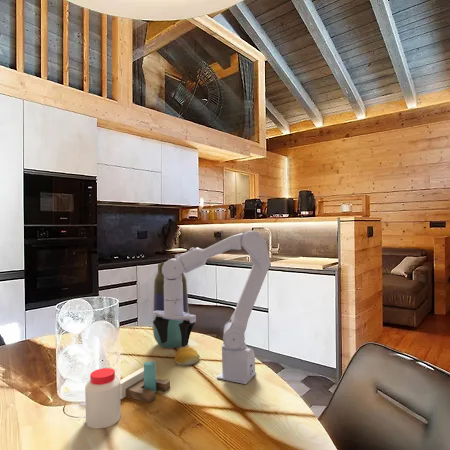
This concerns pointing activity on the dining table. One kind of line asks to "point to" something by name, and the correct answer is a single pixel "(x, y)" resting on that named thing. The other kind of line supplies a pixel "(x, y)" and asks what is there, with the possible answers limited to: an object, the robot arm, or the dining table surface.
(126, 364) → the dining table surface
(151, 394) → the block
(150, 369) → the dowel
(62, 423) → the dining table surface
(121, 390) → the board
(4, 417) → the dining table surface
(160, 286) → the vase
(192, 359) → the bread roll
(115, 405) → the pill bottle
